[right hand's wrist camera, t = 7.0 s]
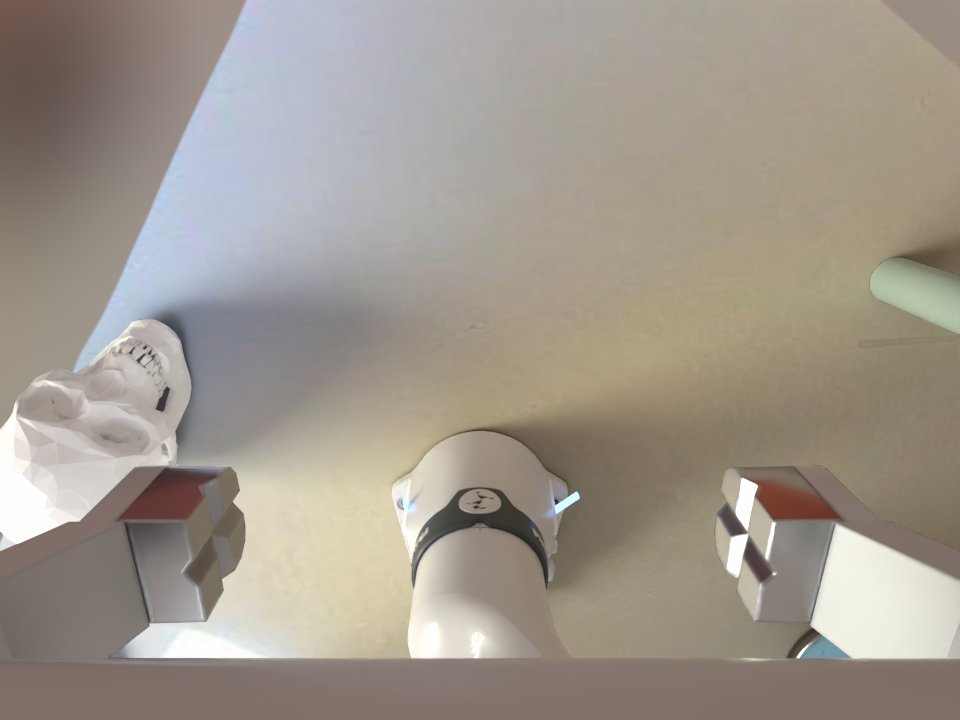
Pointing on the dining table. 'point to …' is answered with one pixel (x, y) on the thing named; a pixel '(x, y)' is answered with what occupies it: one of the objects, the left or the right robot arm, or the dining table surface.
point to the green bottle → (919, 291)
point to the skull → (90, 430)
